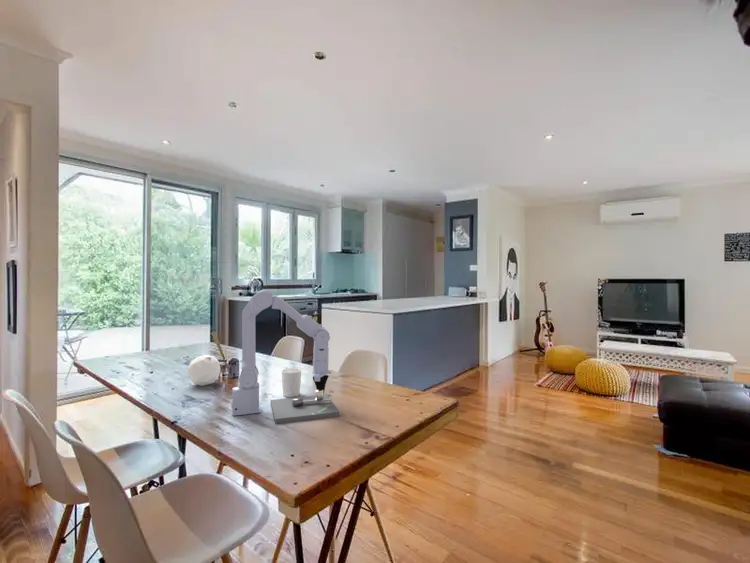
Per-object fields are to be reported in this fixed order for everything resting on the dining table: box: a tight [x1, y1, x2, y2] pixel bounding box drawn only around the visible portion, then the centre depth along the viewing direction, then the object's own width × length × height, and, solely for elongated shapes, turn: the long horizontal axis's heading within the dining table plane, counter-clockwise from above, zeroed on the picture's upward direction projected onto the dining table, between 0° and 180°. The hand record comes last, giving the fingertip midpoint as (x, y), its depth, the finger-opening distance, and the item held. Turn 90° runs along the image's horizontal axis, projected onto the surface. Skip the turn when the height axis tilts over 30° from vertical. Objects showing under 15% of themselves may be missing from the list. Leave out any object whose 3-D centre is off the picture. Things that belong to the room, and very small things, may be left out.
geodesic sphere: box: [187, 354, 221, 387], centre depth 167 cm, size 14×14×14 cm
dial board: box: [269, 394, 340, 424], centre depth 137 cm, size 22×20×2 cm
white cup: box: [281, 367, 302, 398], centre depth 154 cm, size 8×8×10 cm
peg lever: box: [292, 388, 332, 406], centre depth 139 cm, size 14×4×4 cm, turn 109°
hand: (320, 395), depth 142 cm, fingers closed
